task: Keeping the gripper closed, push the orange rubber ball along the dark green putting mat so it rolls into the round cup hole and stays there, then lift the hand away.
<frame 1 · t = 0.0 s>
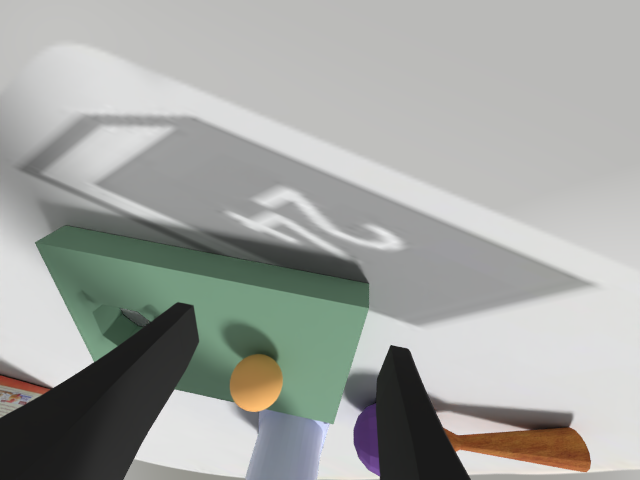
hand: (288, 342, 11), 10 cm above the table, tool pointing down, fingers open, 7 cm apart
putting mat: (219, 324, 27), on the table
cracker box: (15, 384, 41), on the table
kendama: (455, 413, 30), on the table
ball: (256, 381, 23), point 4 cm above the table, touching putting mat
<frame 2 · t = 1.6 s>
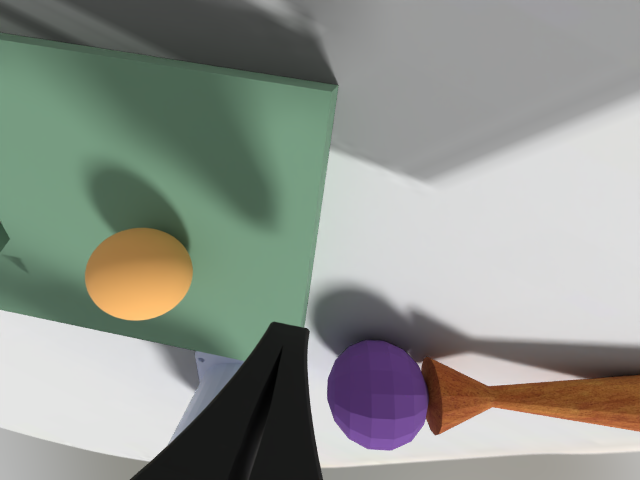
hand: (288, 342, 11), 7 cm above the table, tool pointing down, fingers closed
putting mat: (111, 208, 17), on the table
kendama: (481, 358, 20), on the table
ball: (143, 273, 13), point 4 cm above the table, touching putting mat
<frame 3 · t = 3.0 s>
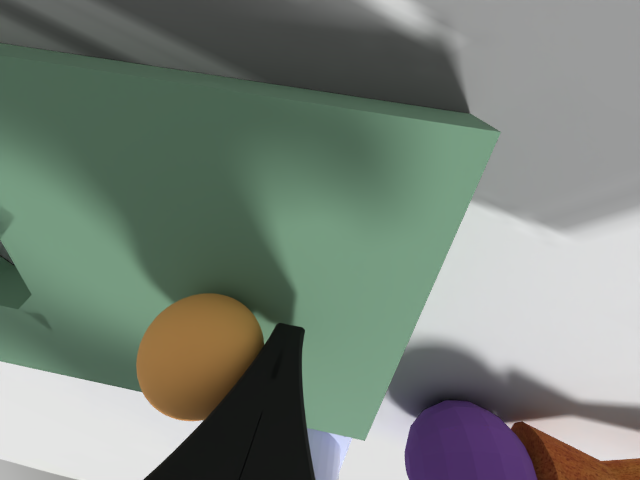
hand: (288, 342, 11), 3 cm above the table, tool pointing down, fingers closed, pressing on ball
putting mat: (151, 253, 14), on the table
kendama: (580, 420, 17), on the table
ball: (205, 352, 10), point 4 cm above the table, touching gripper, putting mat
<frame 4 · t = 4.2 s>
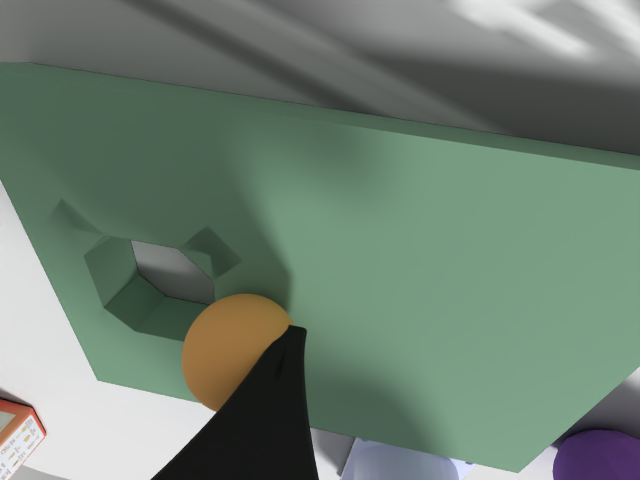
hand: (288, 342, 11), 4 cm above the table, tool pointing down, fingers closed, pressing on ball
putting mat: (322, 287, 14), on the table
ball: (243, 350, 11), point 4 cm above the table, tilted 145°, touching gripper, putting mat
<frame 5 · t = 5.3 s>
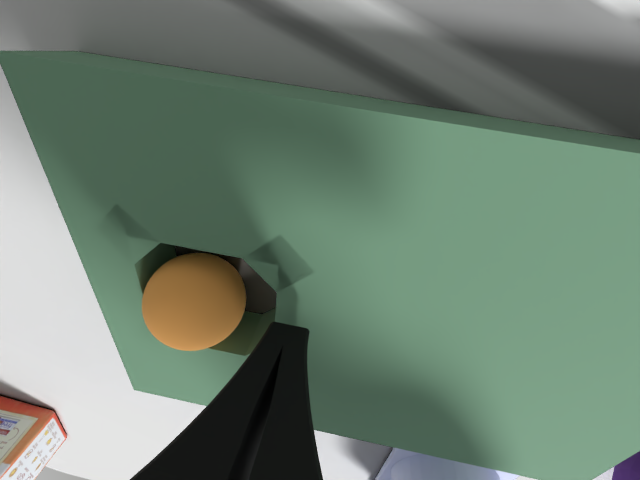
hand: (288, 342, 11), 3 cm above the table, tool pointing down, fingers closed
putting mat: (380, 296, 13), on the table
ball: (197, 300, 12), point 2 cm above the table, tilted 55°
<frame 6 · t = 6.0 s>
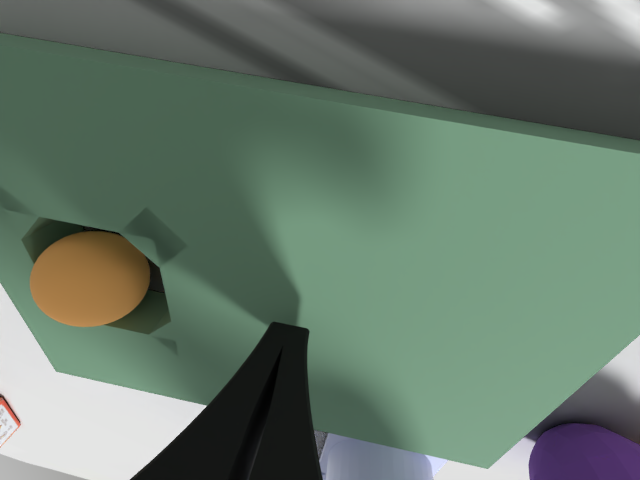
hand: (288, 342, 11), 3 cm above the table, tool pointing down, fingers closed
putting mat: (285, 277, 14), on the table
ball: (95, 277, 12), point 2 cm above the table, tilted 55°
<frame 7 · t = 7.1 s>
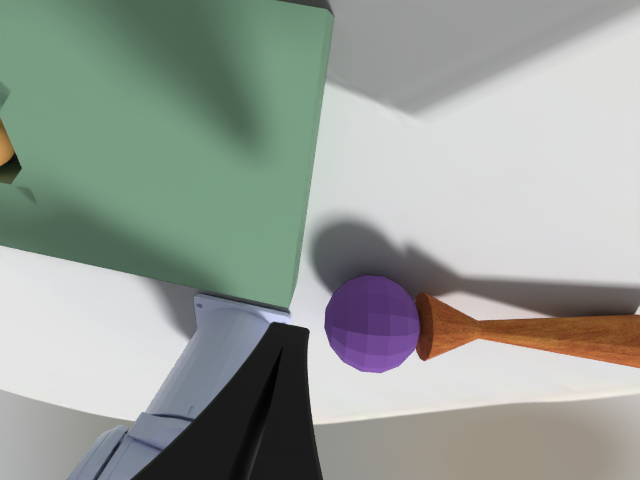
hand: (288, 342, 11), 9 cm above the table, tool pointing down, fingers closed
putting mat: (118, 145, 18), on the table
kendama: (470, 300, 21), on the table
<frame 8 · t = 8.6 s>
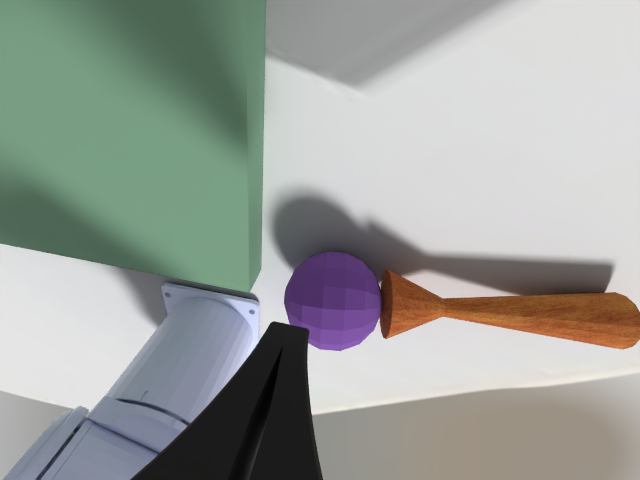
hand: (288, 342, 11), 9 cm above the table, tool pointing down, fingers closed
putting mat: (70, 130, 18), on the table
kendama: (439, 280, 20), on the table
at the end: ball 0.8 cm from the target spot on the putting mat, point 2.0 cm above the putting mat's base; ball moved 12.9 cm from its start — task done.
